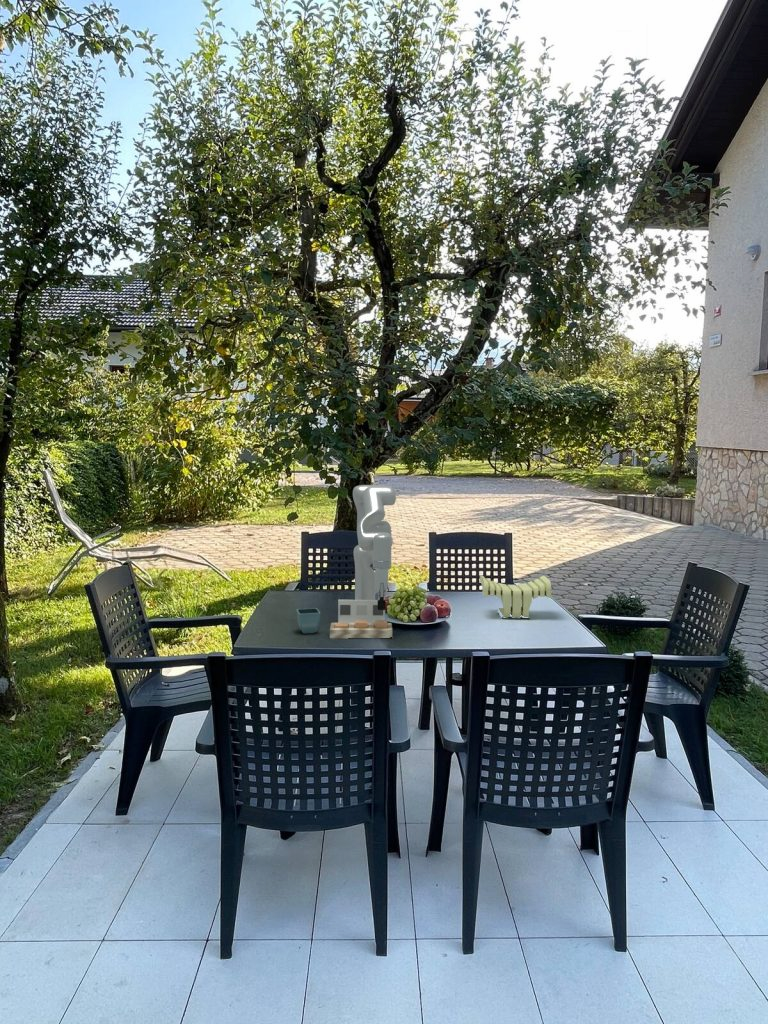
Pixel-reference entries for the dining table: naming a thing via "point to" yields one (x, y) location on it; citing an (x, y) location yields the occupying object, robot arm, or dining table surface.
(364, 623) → the middle key
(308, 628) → the flower pot
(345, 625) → the key
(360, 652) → the dining table surface
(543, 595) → the slatted curved stool
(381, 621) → the key
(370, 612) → the pattern sign
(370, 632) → the key board
